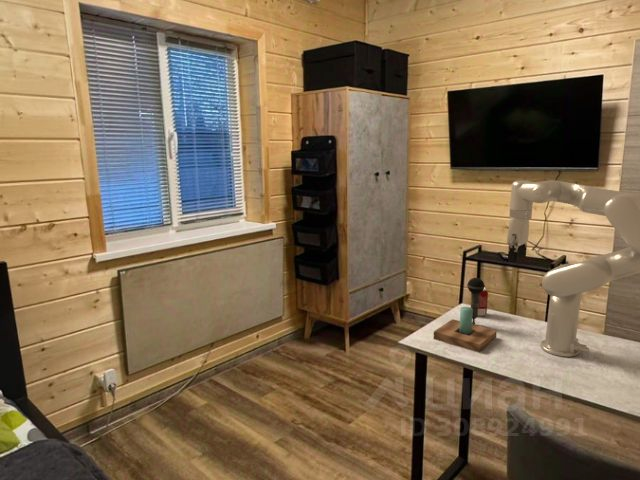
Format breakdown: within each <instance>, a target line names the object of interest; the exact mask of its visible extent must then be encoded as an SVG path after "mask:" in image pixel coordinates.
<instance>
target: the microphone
mask: <svg viewBox="0 0 640 480" xmlns="http://www.w3.org/2000/svg"><path fill="white" fill-rule="evenodd" d="M466 286H467V290H468V291H469V292H470V296H471V297H470V308H472V309H473V315H472V324H473V325H476V322H475V321H476V320H475V319H477V318H478V317H477V315H478V305H479V295H480V293H481V292H482V291H483V290H484V288H486V285H485V282H484V280H483V279H481V278H480V277H479V278H478V277H473V278H471V279H469V281H468V282H467V285H466Z"/></svg>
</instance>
